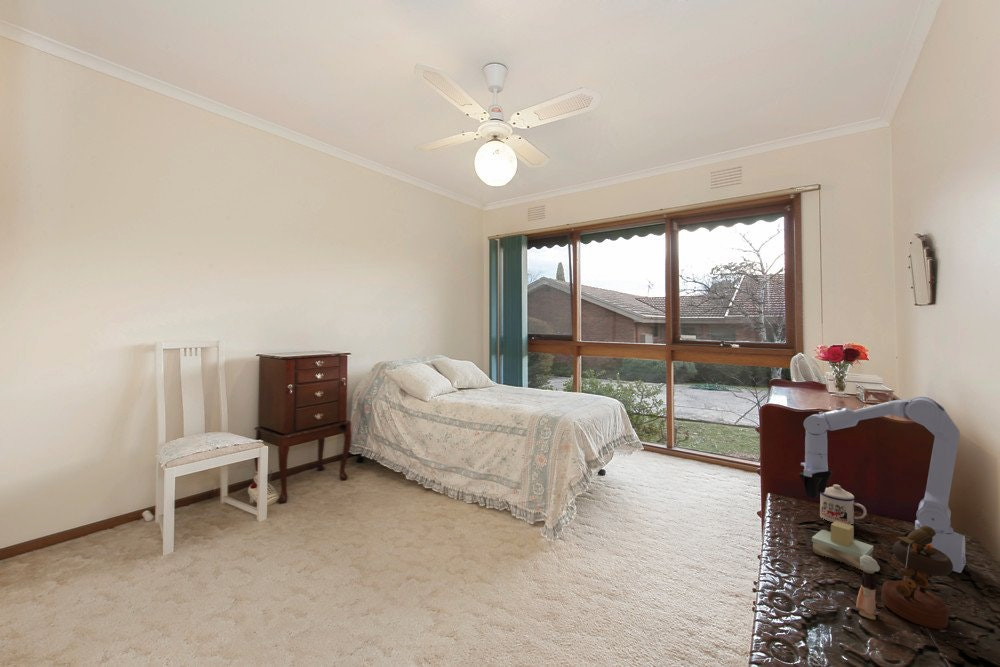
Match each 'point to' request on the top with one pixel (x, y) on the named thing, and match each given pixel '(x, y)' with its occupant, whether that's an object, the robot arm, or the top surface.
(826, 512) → the teacup with lid
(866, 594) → the grandmother figurine
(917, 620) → the music box
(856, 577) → the top surface
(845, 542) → the lid
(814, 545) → the box
